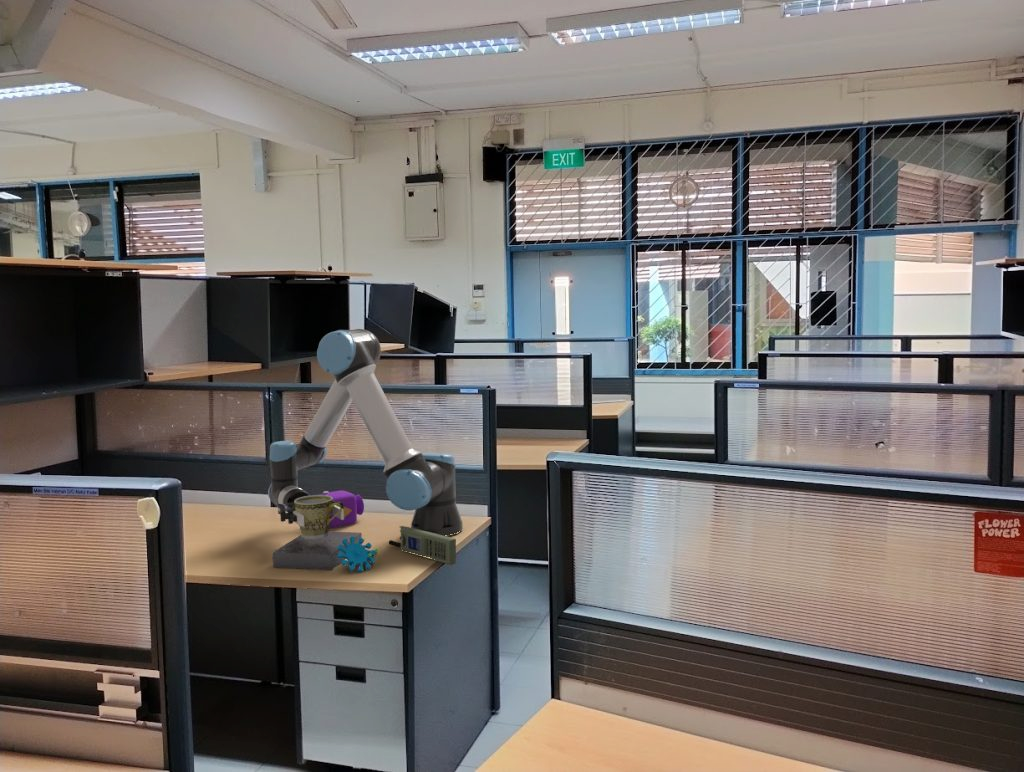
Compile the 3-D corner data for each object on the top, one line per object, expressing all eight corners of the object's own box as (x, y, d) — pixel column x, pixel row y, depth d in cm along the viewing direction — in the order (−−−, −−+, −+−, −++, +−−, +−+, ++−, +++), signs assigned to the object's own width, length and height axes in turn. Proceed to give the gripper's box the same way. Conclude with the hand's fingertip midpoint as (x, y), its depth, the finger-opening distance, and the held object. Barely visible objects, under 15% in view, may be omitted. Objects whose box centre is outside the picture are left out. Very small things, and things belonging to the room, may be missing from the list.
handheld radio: (448, 566, 204) (385, 548, 220) (458, 563, 206) (394, 545, 222) (448, 540, 203) (384, 524, 219) (458, 537, 206) (394, 522, 222)
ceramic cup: (288, 540, 210) (287, 503, 209) (307, 530, 219) (305, 494, 218) (334, 543, 207) (332, 505, 206) (350, 532, 216) (349, 496, 215)
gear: (343, 570, 196) (335, 535, 202) (335, 582, 200) (327, 548, 206) (384, 568, 203) (375, 534, 208) (376, 579, 206) (367, 546, 212)
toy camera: (371, 520, 249) (369, 489, 248) (334, 530, 238) (333, 497, 237) (349, 515, 256) (348, 484, 255) (313, 524, 246) (311, 492, 245)
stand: (362, 546, 221) (361, 532, 221) (331, 570, 202) (330, 554, 202) (308, 544, 225) (307, 530, 224) (273, 567, 205) (272, 552, 205)
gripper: (334, 508, 234) (364, 524, 215) (256, 520, 221) (280, 539, 203) (333, 482, 233) (363, 497, 214) (254, 494, 221) (279, 510, 202)
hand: (322, 517), depth 209 cm, fingers closed on ceramic cup, 10 cm apart
